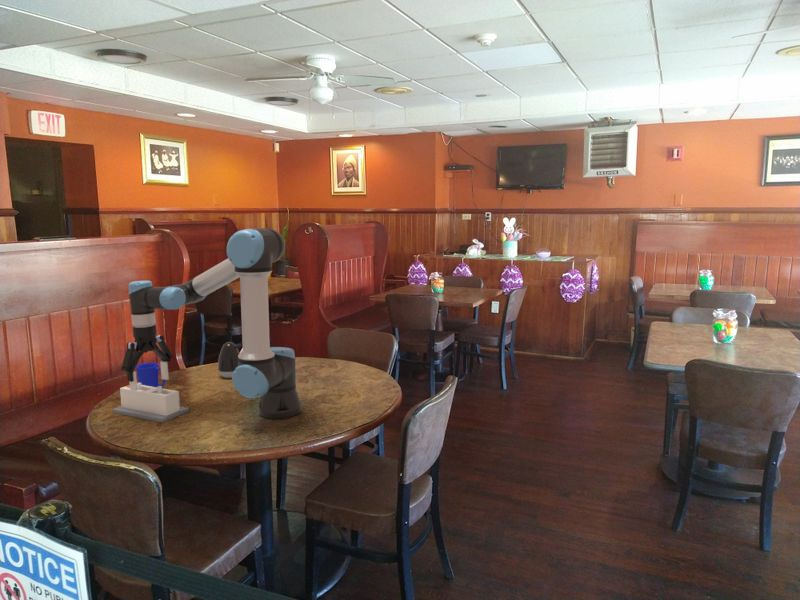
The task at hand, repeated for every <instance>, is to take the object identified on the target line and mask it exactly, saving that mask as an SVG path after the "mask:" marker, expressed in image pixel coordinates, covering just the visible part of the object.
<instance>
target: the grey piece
mask: <svg viewBox="0 0 800 600" xmlns="http://www.w3.org/2000/svg"><path fill="white" fill-rule="evenodd" d="M162 387H163V386H158V387H157V394H160V393H161V394H162ZM137 388H138V390H142V386H141V383H139V382H137ZM189 412H190V408H189V407H185V406H180V410H179V411H177V412H175V413H172V414H170V415H167V416H165V415H160V414H155V413H150V412H145V411H139V410H134V409H129V408H124V407H122V406H118V407H115V408H112V413H113V414H118V415H123V416H128V417H133V418H139V419H143V420H148V421H153V422H157V423H164V422H167V421H169V420H171V419H174V418H176V417H179V416H181V415H183V414H186V413H189Z"/></svg>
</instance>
